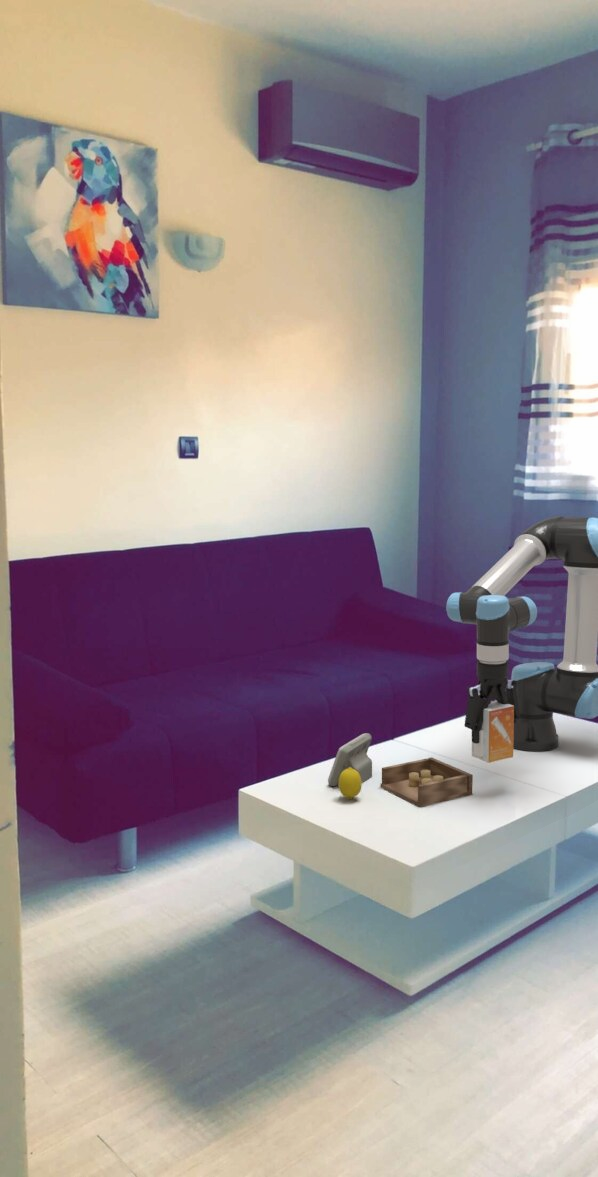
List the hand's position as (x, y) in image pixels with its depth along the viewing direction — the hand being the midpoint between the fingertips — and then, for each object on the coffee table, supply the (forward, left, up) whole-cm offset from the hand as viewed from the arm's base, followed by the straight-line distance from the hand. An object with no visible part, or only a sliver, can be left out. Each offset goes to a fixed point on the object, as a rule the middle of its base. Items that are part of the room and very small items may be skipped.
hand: (492, 751), depth 234 cm
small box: (0, 0, -1) cm, 1 cm away
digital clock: (+23, -27, -11) cm, 38 cm away
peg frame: (+13, -10, -10) cm, 19 cm away
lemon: (+32, -15, -11) cm, 36 cm away
